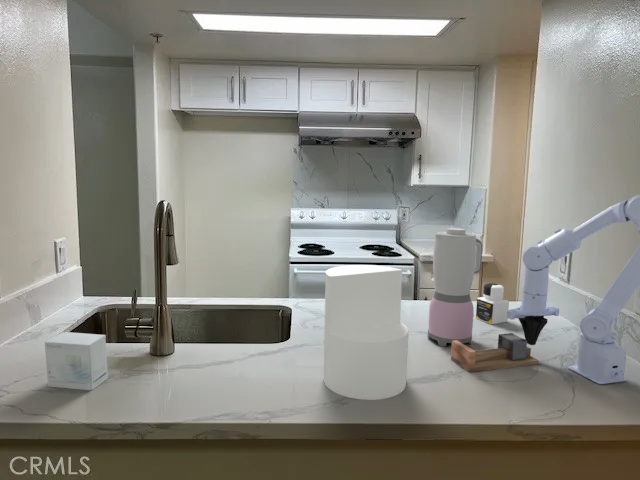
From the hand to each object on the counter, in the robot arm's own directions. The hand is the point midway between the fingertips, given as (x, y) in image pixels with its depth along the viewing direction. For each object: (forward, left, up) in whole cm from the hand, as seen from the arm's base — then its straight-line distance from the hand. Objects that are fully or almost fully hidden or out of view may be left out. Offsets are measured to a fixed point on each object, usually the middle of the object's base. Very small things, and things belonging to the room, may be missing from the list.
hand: (530, 343), depth 121 cm
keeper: (0, +6, -3) cm, 6 cm away
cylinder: (-2, +47, -4) cm, 47 cm away
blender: (+17, +12, -4) cm, 21 cm away
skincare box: (+12, +109, -4) cm, 109 cm away
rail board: (0, +11, -4) cm, 11 cm away
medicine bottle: (+30, -10, -4) cm, 32 cm away
